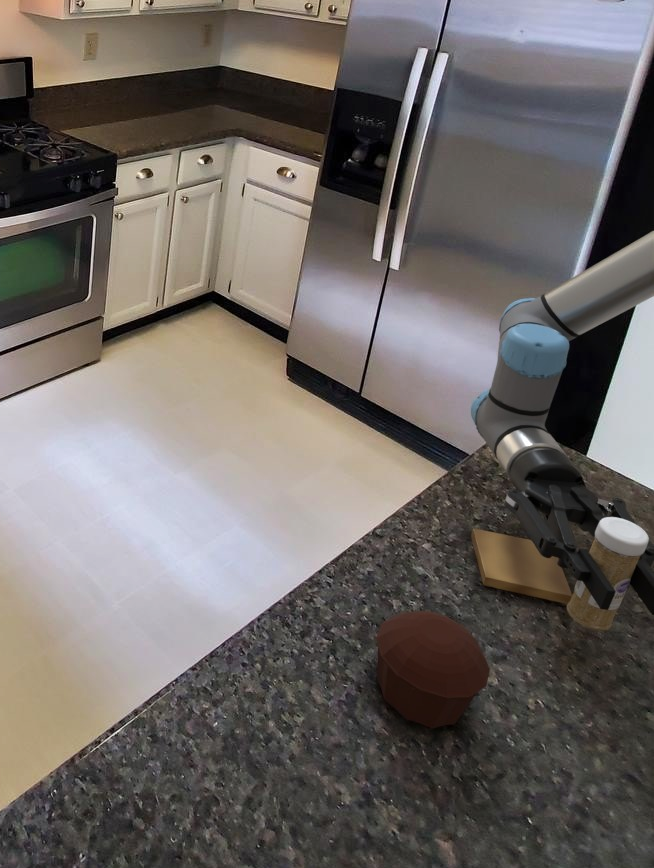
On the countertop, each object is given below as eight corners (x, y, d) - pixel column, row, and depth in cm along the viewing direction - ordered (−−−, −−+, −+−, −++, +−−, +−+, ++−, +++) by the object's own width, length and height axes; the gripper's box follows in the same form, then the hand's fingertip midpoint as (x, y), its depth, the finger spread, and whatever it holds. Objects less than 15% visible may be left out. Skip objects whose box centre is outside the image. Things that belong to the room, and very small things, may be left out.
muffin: (429, 756, 86) (451, 692, 81) (344, 678, 95) (360, 617, 90) (496, 708, 91) (520, 646, 87) (409, 638, 100) (427, 579, 95)
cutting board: (550, 552, 113) (553, 544, 112) (569, 604, 104) (572, 596, 104) (470, 535, 116) (473, 528, 115) (483, 585, 107) (485, 577, 107)
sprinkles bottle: (599, 638, 92) (638, 549, 86) (557, 612, 95) (591, 524, 89) (619, 621, 94) (657, 533, 88) (577, 596, 97) (611, 509, 92)
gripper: (602, 498, 107) (712, 638, 86) (463, 485, 110) (536, 618, 89) (620, 452, 104) (738, 587, 83) (476, 440, 107) (555, 567, 86)
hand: (633, 602), depth 86 cm, fingers closed on sprinkles bottle, 4 cm apart
